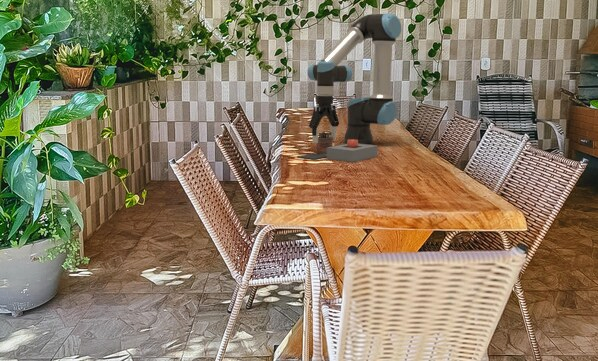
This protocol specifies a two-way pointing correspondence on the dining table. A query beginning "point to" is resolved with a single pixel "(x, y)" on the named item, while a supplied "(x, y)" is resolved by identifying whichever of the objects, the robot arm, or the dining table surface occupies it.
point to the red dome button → (352, 143)
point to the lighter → (324, 142)
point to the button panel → (352, 152)
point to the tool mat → (313, 156)
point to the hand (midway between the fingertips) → (324, 141)
